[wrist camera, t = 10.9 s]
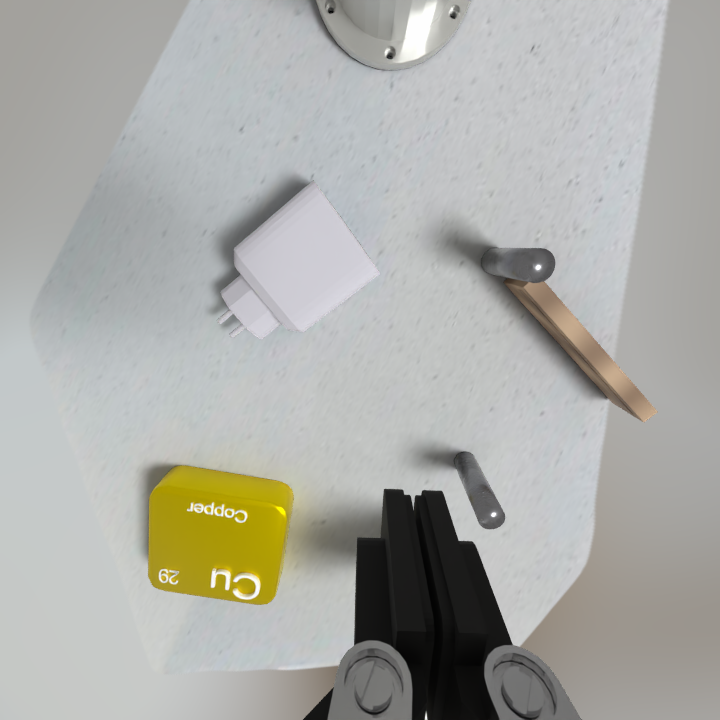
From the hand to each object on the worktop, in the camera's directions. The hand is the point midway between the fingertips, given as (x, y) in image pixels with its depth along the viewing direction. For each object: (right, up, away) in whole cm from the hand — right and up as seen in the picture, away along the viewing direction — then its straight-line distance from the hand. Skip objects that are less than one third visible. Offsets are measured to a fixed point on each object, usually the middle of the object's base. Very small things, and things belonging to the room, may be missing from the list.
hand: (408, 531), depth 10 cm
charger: (-8, +13, +25) cm, 29 cm away
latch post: (+11, -7, +30) cm, 33 cm away
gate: (+19, +7, +25) cm, 33 cm away
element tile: (-18, -15, +34) cm, 41 cm away
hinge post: (+11, +14, +24) cm, 30 cm away
